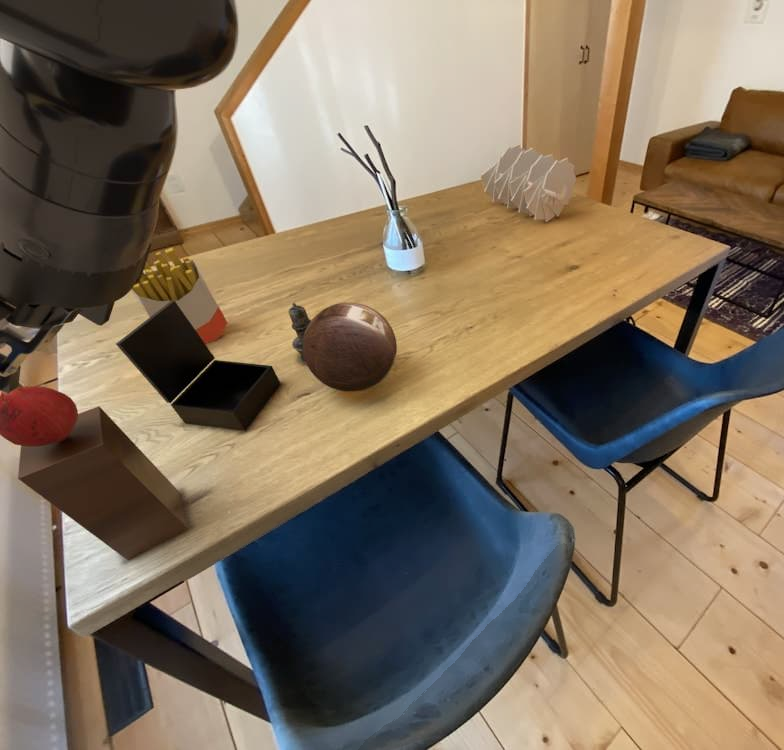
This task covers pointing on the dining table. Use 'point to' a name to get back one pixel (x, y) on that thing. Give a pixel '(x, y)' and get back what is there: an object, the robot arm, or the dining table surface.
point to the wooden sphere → (349, 347)
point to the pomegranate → (36, 416)
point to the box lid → (167, 351)
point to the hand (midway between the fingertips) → (48, 347)
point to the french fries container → (181, 294)
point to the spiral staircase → (530, 182)
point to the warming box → (227, 395)
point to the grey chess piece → (299, 327)
